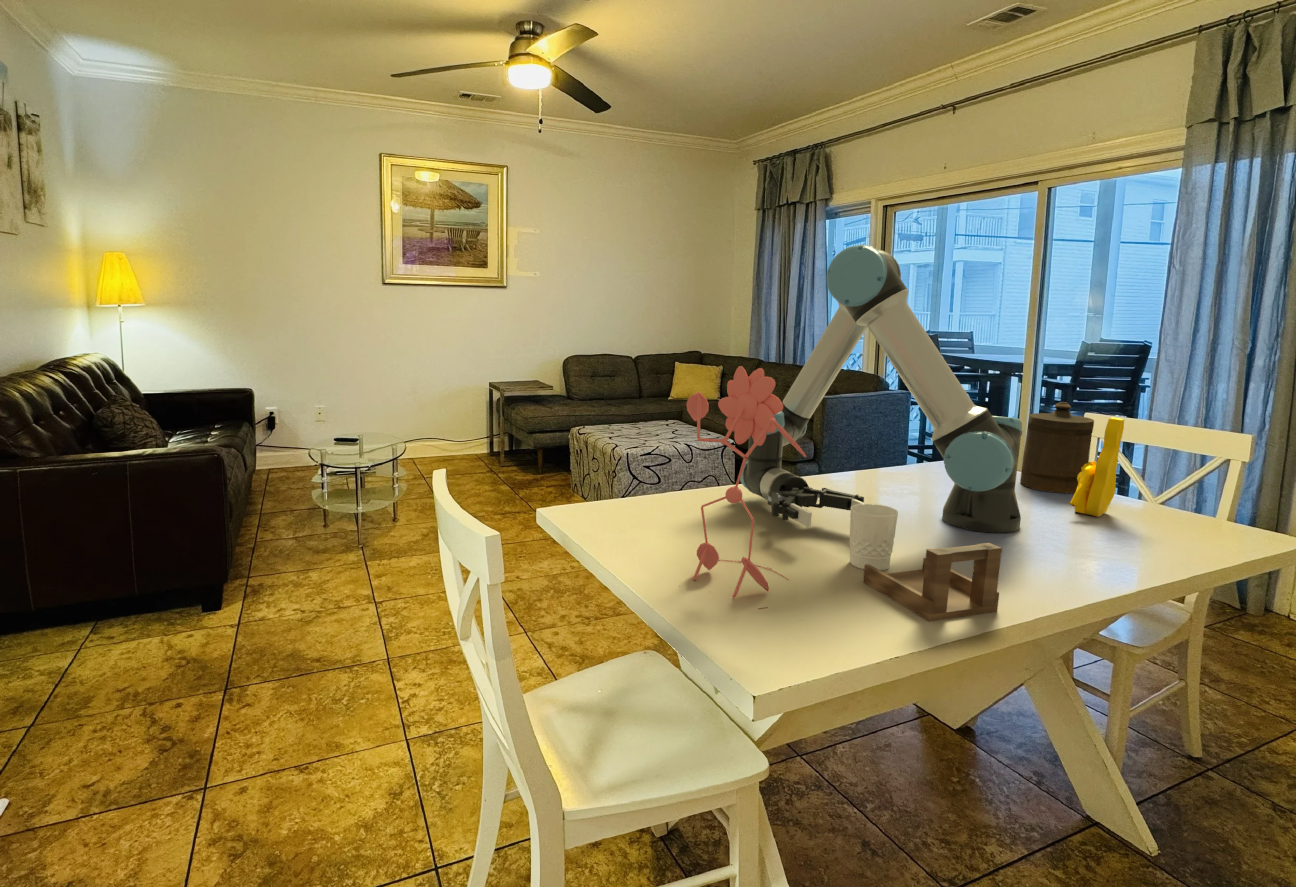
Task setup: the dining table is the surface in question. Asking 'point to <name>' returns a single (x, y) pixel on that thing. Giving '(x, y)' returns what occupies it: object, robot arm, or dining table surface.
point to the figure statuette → (1100, 474)
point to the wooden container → (1056, 450)
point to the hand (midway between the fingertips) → (841, 517)
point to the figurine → (746, 418)
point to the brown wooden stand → (944, 583)
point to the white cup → (872, 535)
